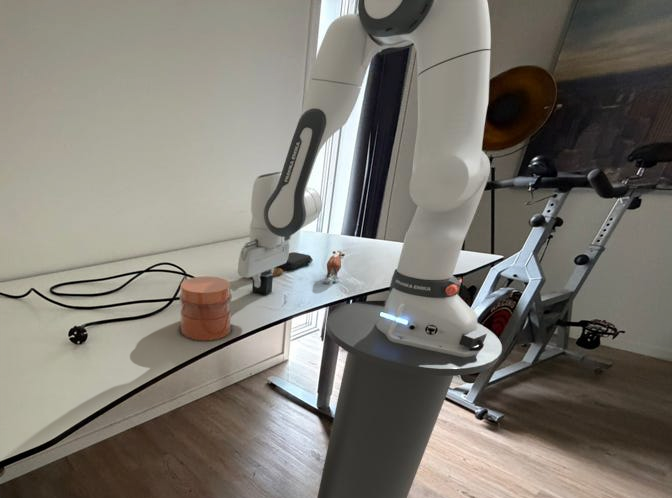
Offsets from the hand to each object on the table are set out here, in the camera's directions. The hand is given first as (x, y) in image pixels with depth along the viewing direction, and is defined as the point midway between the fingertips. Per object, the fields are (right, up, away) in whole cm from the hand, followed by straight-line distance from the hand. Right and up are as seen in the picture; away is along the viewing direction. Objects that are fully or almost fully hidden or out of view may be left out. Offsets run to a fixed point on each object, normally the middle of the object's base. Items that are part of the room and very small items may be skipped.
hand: (262, 284), depth 112 cm
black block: (0, -2, +1) cm, 2 cm away
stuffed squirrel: (+2, +6, +15) cm, 17 cm away
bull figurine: (+25, +4, +10) cm, 27 cm away
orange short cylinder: (-18, -15, -20) cm, 30 cm away
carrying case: (+15, +12, +25) cm, 31 cm away
